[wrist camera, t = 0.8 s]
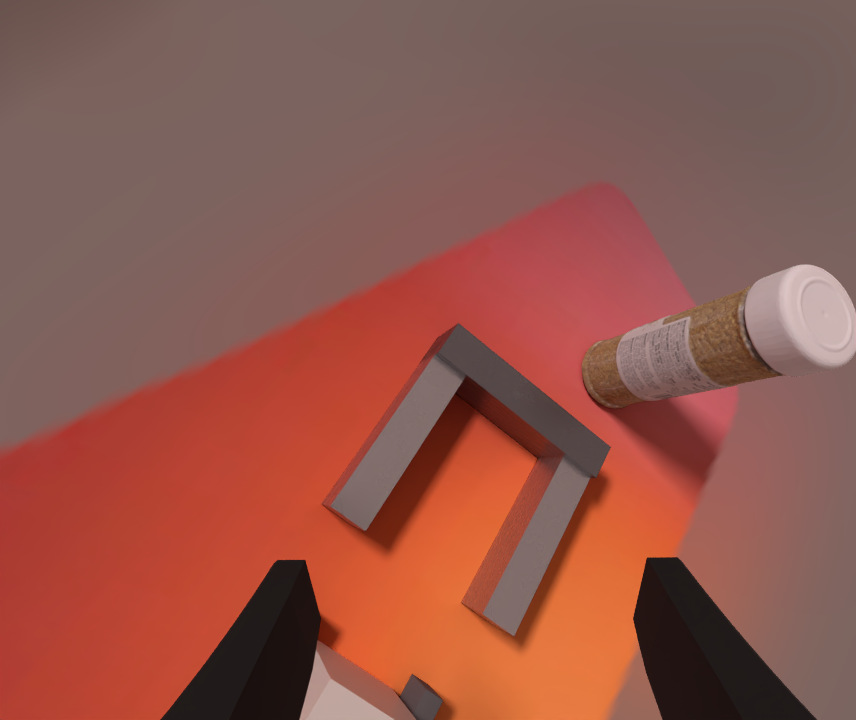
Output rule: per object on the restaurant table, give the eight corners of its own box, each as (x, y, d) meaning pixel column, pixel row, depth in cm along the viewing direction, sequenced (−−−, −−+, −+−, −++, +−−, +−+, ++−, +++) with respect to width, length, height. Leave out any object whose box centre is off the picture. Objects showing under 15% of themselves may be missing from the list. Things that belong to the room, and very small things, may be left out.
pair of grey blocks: (357, 818, 23) (368, 847, 21) (206, 728, 22) (204, 751, 20) (428, 684, 25) (443, 700, 23) (295, 596, 24) (300, 605, 22)
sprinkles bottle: (633, 346, 35) (856, 272, 22) (637, 413, 33) (872, 375, 21) (576, 336, 33) (780, 250, 21) (578, 406, 32) (794, 360, 20)
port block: (490, 623, 27) (519, 639, 24) (321, 503, 25) (332, 506, 23) (577, 450, 31) (610, 447, 28) (437, 337, 30) (458, 323, 27)
